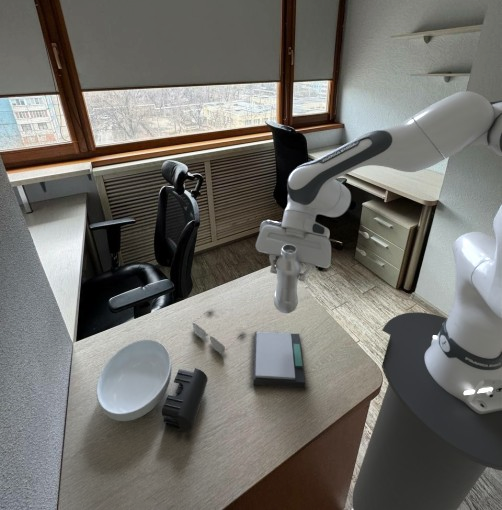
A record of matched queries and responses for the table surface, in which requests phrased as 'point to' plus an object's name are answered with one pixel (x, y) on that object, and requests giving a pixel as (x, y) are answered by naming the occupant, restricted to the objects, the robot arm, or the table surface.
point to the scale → (278, 360)
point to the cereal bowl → (134, 380)
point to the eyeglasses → (214, 342)
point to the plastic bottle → (287, 279)
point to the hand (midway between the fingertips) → (287, 277)
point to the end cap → (185, 400)
